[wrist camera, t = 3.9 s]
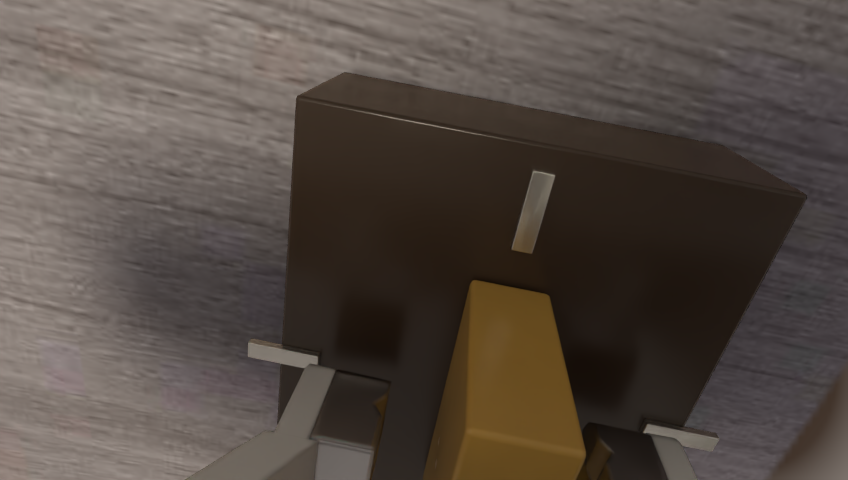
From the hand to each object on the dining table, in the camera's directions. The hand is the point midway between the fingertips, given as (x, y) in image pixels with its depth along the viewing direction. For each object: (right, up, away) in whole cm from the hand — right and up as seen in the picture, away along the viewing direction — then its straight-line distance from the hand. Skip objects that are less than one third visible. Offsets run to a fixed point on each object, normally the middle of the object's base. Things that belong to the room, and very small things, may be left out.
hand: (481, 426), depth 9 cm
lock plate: (0, +2, +3) cm, 4 cm away
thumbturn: (0, 0, +1) cm, 1 cm away
